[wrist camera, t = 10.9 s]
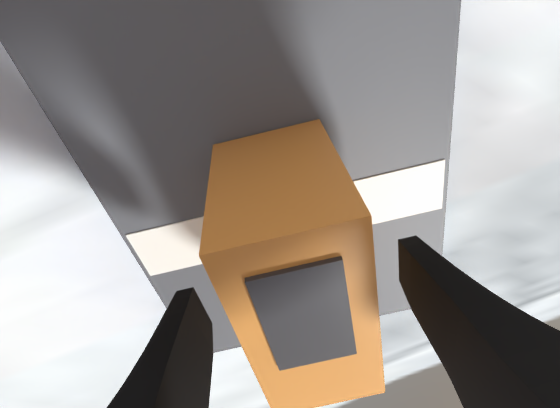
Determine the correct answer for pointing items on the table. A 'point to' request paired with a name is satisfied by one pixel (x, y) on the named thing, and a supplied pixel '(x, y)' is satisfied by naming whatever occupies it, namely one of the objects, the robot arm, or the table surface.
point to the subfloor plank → (243, 110)
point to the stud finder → (295, 266)
